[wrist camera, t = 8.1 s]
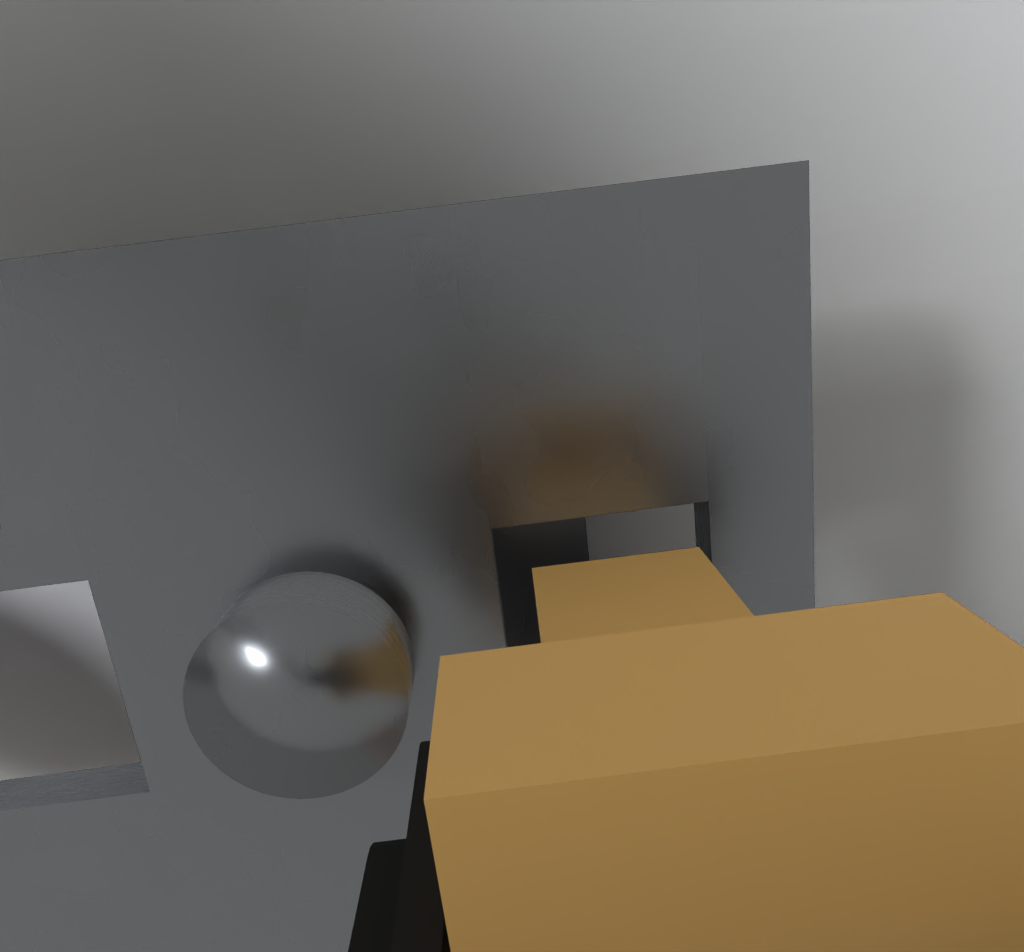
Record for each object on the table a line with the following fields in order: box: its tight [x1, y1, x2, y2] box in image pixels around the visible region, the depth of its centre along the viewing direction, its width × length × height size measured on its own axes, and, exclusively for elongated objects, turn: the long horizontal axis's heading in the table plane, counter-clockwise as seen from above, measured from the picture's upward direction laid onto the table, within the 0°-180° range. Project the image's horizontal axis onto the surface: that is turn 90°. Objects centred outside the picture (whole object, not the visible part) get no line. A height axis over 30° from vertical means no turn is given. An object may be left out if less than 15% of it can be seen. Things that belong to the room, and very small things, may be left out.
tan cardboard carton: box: [424, 547, 1024, 952], centre depth 11 cm, size 7×6×8 cm
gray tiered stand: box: [0, 160, 815, 952], centre depth 20 cm, size 18×22×10 cm
